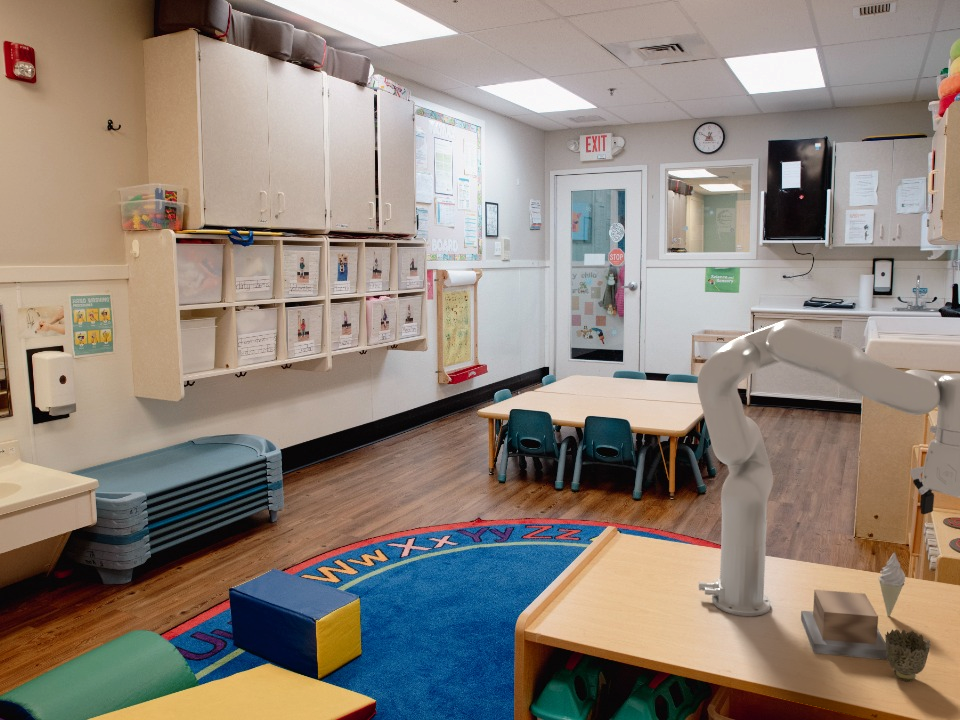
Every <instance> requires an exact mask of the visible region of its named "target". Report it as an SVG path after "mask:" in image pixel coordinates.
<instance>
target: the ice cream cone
mask: <svg viewBox="0 0 960 720" xmlns="http://www.w3.org/2000/svg"><path fill="white" fill-rule="evenodd" d="M879 573H880V574H881V575H880V576H879V577H878V582H879V586H880V590H881V593H882V598H883V603H884V607H885V611H886V615H887V617H891V614H892V612H893V610H894V608H895V606H896V603H897V601H898V599H899V597H900V593H901V591H902V589H903V587H904V586H905V582H906V575H905V573H904V570H903V569H902V568H901V563H900V562H899V559H898V557H897V554H896V552H895V551H893V553H892V554H891V556H890V558H889V559H888V560H887V562H886V566H884V567H882V570H880V572H879Z"/></svg>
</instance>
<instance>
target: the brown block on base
mask: <svg viewBox="0 0 960 720" xmlns="http://www.w3.org/2000/svg"><path fill="white" fill-rule="evenodd" d="M813 591H814V594H813V608H812V609H813V611H812V610H811V611H809V610H801V612H800V621H801V622H802V626H803V628H804V630H805V634H806V637H807V639H808V642H809V645H810V648H811V650H812V653H813V654H822V655H834V656H845V657H853V658H854V657H855V658H865V659H866V658H867V659H874V660H875V659H878V660H884V661H885V660H886V661H888V660H887V654H886V640H885V639H884V637H883V635H882V633H881V632H880V629H879V628H878V624H879V615H878V614H877V611H876V610H875V608H874V606H873V605H872V603H871V601H870V599H869V598H868V596H867V595H866V593H862V592H851V591H836V590H835V591H834V590H825V589H814V590H813Z"/></svg>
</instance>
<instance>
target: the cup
mask: <svg viewBox="0 0 960 720" xmlns="http://www.w3.org/2000/svg"><path fill="white" fill-rule="evenodd" d="M884 638H885V639H884V641H885V642H886V654H887V660H886V661H887V662H888V664H889V666H890V667H891V668H892V669H893V674H894V676H895V677H896V678H897V679H898V680H900V681H903V682H912V681H914V680H915V679H916V677H917V674H920V673H921V672H922V671H923V670H924V669H925V666H926V664H927V659H928V655H929V652H930V647H931V643H930V640H929V639H928V640H924V636H923V634H919V635H918V633H916V631H914V630H911V631H909V632H907V631H906V630H905V629H902V630H901V631H900V630H899V629H897V628H896V629H893V628H891V631H890V632H889V631H888V630H887V632H886V634H884Z"/></svg>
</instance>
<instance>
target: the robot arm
mask: <svg viewBox="0 0 960 720" xmlns="http://www.w3.org/2000/svg"><path fill="white" fill-rule="evenodd" d="M778 363H782V364H785V365H786V366H790V367H792V368H795V369H797V370H800V371H802V372H805V373H806V372H807V373H809V374H811V375H814V376H817V377H820V378H822V379H825V380H828V381H830V382H833V383H835V384H838V385H839V386H841V387H842V388H845V389H847V390H850V391H852V392H854V393H856V394H858V395H860V396H862V397H864V398H866V399H868V400H870V401H873V402H874V403H875V402H876V403H878V404H880V405H883V406H886V407H888V408H891V409H894V410H897V411H900V412H902V413H905V414H908V415H914V416H922V415H926V414H928V413H931V412H933V411H934V410H935V409H936V408H937V417H936V418H937V419H936V424H935V426H934V425H932V426H930V428H929V431H930V433H931V434H932V433H933V434H934V438H935V439H931V440H930V442H929V444H928V448H927V451H926V455H925V459H924V464H923V466H920V467H915V468H910V470H909V473H910V476H911V478H912V480H913V483H912V484H914V485H915V488H917V491H918V494H919V495H920V500H919V501H920V503H919V508H920V514H921V515H926V514H929V513H932V512H933V511H934V502H935V501H934V500H935V494H934V493H935V492H936V493H941V494H944V495H948V496H952V497H955V498H959V499H960V373H959V372H958V373H956V372H955V373H943V372H936V371H932V370H926V369H921V368H919V369H918V368H917V369H916V368H914V369H909V370H908V369H907V370H906V371H904V370H902V369H897V368H895V367H892V366H889V365H887V364H885V363H883V362H880V361H878V360H876V359H875V358H873V357H871V356H870V355H868V354H867V353H866V352H865V351H864V350H862V349H861V348H859V347H858V346H856V345H854V344H852V343H850V342H847V341H844V340H841V339H837V338H835V337H831V336H829V335H826V334H824V333H820V332H819V331H815V330H812V329H809V327H808V325H806V324H805V323H803V322H802V321H800V320H797V319H791V318H790V319H784V320H781V321H779V322H776V323H774V324H771V325H769V326H766V327H764V328H761V329H758V330H755V331H754V332H753V331H752V332H750V333H747V334H745V335H742V336H739V337H737V338H734V339H732V340H730V341H728V342H727V343H725V344H723V345H722V346H721V347H720V348H718V349H717V350H716V351H715V352H714V353H712V354H711V356H710V357H708V359H706V361H704V363H703V365H702V366H701V368H700V370H699V372H698V377H697V383H696V384H697V393H698V397H699V400H700V405H701V408H702V411H703V412H702V413H703V416H704V421H705V424H706V428H707V432H708V435H709V439H710V444H711V448H712V450H713V451H712V452H713V453H714V456H715V457H716V458H717V459H718V461H720V462H721V463H722V464H724V465H726V466H727V469H728V475H727V476H726V478H725V480H724V482H723V484H722V488H721V491H720V492H721V493H720V506H721V534H720V535H721V539H720V540H721V543H720V544H721V545H720V546H721V547H720V567H719V568H720V571H719V573H720V574H719V577H717V579H716V580H717V581H712V582H706V581H698V591H704V595H708V596H711V600H712V603H713V604H714V606H715V607H716V608H718V609H719V610H721V611H723V612H726V613H728V614H731V615H736V616H741V617H755V616H762V615H764V614H766V613H768V612H769V611H770V610H771V600H770V599H769V598H768V596H767V595H765V594H764V593H765V592H764V590H765V572H766V571H765V570H766V551H767V550H766V549H767V526H768V525H767V523H768V522H767V513H768V512H767V507H768V500H769V496H770V495H771V491H772V489H773V486H774V485H773V484H774V475H773V470H772V466H771V461H770V460H769V456H768V452H767V448H766V445H765V441H764V437H763V435H762V431H761V430H760V428H759V426H758V423H756V422H755V421H754V420H753V419H752V418H750V417H749V416H747V415H746V414H745V413H746V412H745V410H744V405H743V403H742V398H741V397H740V394H739V390H738V386H739V385H740V384H741V382H743V381H744V380H746V379H747V378H749V376H751V375H752V373H754V372H757V371H759V370H762V369H765V368H768V367H770V366H773V365H776V364H778Z"/></svg>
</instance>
